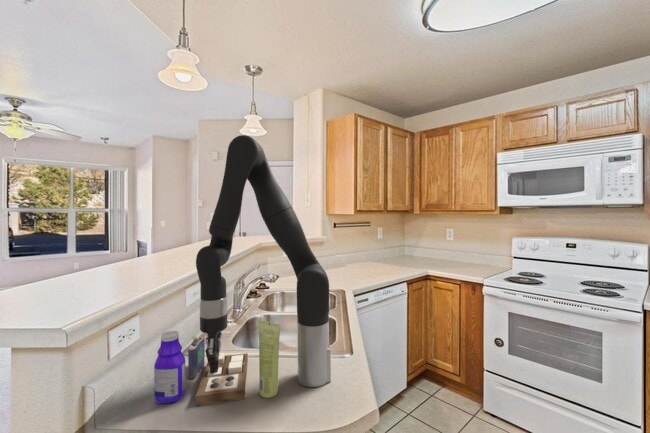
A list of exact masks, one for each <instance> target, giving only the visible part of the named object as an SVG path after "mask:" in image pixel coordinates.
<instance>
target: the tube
mask: <svg viewBox="0 0 650 433" xmlns="http://www.w3.org/2000/svg"><path fill="white" fill-rule="evenodd" d="M257 321H258V323H257V324H258V325H257V327H258V351H259V353H258V354H259V355H258V359H259V362H258V363H259V365H258V366H259V395H260V397H262V398H268V399H269V398H272V397H275V396H277V394H278V391H279V390H278V389H279V356H280V355H279V354H280V353H279V352H280V335H281V324H279V323H274V322H270V321H265V320H262V319H258V320H257Z"/></svg>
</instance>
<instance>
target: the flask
mask: <svg viewBox="0 0 650 433" xmlns="http://www.w3.org/2000/svg"><path fill="white" fill-rule="evenodd" d="M191 339H193V341H192V342H191V344H190V345H189V347H188V349H187V352H188V354H187V355H188V356H187V358H188V359H187V365H188V369H187V370H188V371H187V372H188V379H189V380H194V379H195V378H197V377H198V376H199V373H201V370H202V369H203V367H204V366H205V365H206V363H205V354H206V352H205V351H206V349H205V348H206V347H205V345H206V337H205V336H199V337H197V336H193V337H192V338H191Z"/></svg>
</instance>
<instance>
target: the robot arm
mask: <svg viewBox="0 0 650 433" xmlns="http://www.w3.org/2000/svg"><path fill="white" fill-rule="evenodd" d="M227 147H228V148H227V152H226V160H225V167H224V174H223V178H222V183H221V189H220V192H219V196H218V200H217V203H216V206H215V208H214V212H213V214H212V215H213V216H212V218H211V221H210V224H209V228H208V232H209V234H210V236H211V238H210V243H209V245H206V246H203V247H202V248H200V249H199V251H198V252H197V254H196V257H195V258H196V259H195V267H196V271H197V276H198V280H199V284H200V302H199V330H200V332H201V333H204V334H206V335H207V337H205V345H206V349H205V354H206V358H207V362H209V361H210V373H215V372H218V358H219V354H220V353H221V347H222V336H223V333H222V331H225V330H226V329H227V328H228V299H227V281H226V278H225V277H224V276H222V269H221V267H223V266H224V265H226V264H227V262H228V261H229V259H230V256H231V254H232V253H231V252H232V248H233V241H234V240H233V239H234V234H235V232H236V229H237V225H238V223H239V219H240V215H241V211H242V204H243V197H244V191H245V186H246V183H247V181H248V182H249V184H250V186H251V188H252V190H253V193H254V195H255V199H256V202H257V207H258V211H259V213H260V215H261V218H262V220H263V222H264V224H265V227H266V228H267V230H268V232H269V234H270V235H271V237H272V238H273V239H274V241H275V242H276V243H277V245H278V247H280V249H281V250H282V251H283V253H284V254H285V255H286V257H287V258H288V260H289V262H290V265H291V266H292V269H293V272H294V273H295V274H294V275H295V278H296V280H297V281H296V314H297V315H296V316H297V319H296V320H297V324H296V325H297V380H298V382H299V384H301V385H302V386H304V387H307V388H316V387H317V388H318V387H322V386H324V385H325V384H327V383H330V382H331V381H332V366H331V364H332V362H331V361H332V360H331V356H332V354H331V352H332V351H331V347H330V343H329V342H330V340H329V338H330V336H329V334H330V333H329V332H330V331H329V326H330V325H329V320H330V318H329V314H330V281H329V277H328V275H327V272H326V271H325V269H324V268H323V266H322V265H321V264H320V262H319V260H318V259H317V257H316V256H315V254H314V252H313V251H312V249H311V248H310V246H309V243H308V240H307V237H306V234H305V232H304V228H302V225H301V222H300V220H299V218H298V216H297V214H296V212H295V210H294V208H293V206H292V204H291V202H290V201H289V200H288V197H287V195H286V194H285V192H284V191H283V189H282V187H281V186H280V185H279V183H278V182H277V179H275V176H274V174H273V172H272V169H271V167H270V164H269V162H268V159H267V156H266V153H265V151H264V149H263V147H262V145H261V144H259V142H258V141H257V140H255V138H254V137H251V136H249V135H247V134H246V135H245V134H244V135H243V134H242V135H238V136H235V137H234V138H233V139H232V140H231V141H230V143H229V144H228V146H227Z"/></svg>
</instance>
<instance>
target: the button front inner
mask: <svg viewBox="0 0 650 433" xmlns="http://www.w3.org/2000/svg"><path fill="white" fill-rule="evenodd" d="M228 370H229V374H236V373H242V361H236V362H230V364H229V368H228Z"/></svg>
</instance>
